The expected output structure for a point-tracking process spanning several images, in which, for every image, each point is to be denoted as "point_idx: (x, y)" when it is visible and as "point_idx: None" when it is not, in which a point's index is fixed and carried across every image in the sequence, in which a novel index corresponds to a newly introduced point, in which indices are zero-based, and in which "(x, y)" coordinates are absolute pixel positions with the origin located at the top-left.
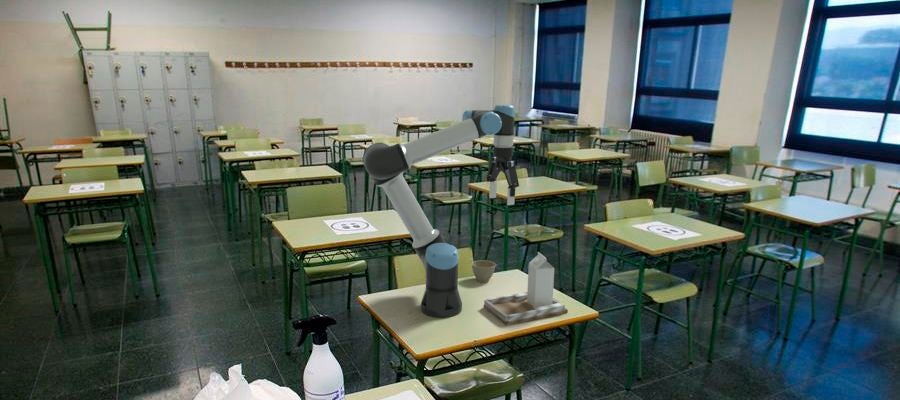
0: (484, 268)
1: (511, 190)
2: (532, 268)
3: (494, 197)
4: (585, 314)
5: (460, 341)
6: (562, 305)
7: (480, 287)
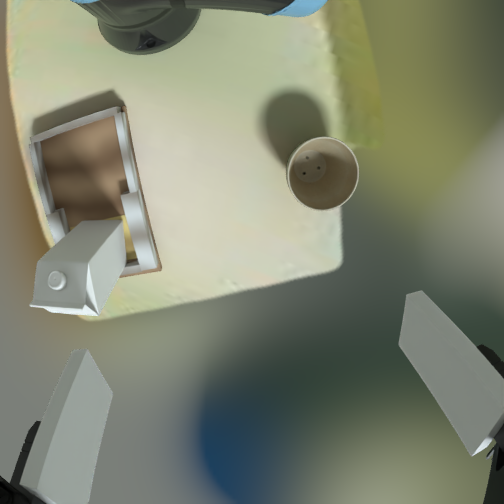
0: (288, 162)
1: (22, 471)
2: (62, 258)
3: (401, 333)
4: None
5: (11, 42)
6: None
7: (259, 138)
